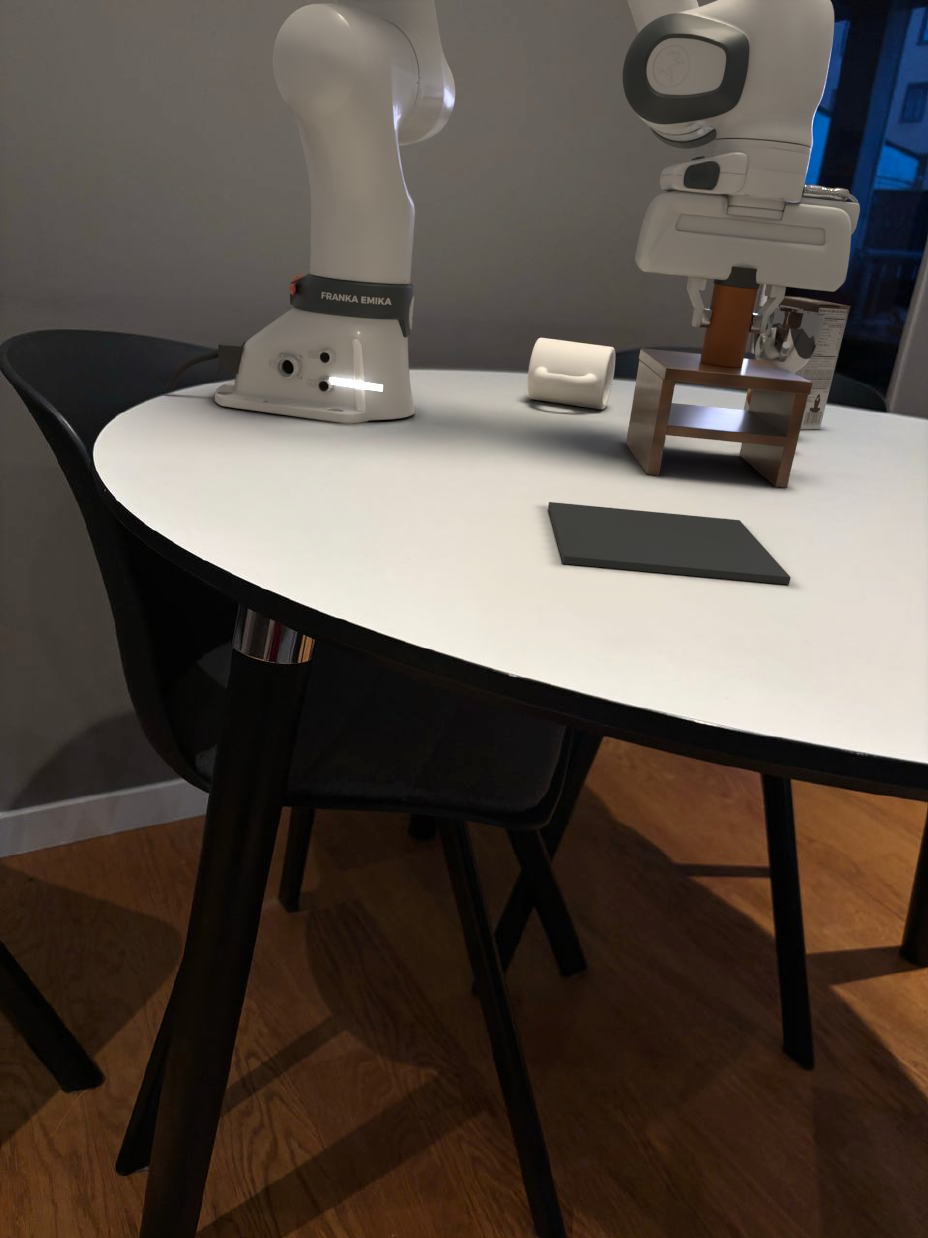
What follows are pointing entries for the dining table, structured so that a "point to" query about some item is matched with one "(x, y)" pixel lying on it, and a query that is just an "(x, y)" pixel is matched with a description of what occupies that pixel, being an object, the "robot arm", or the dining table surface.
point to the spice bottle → (730, 318)
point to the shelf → (718, 411)
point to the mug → (571, 373)
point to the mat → (662, 543)
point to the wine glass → (789, 338)
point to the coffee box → (818, 356)
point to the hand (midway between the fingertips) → (727, 329)
